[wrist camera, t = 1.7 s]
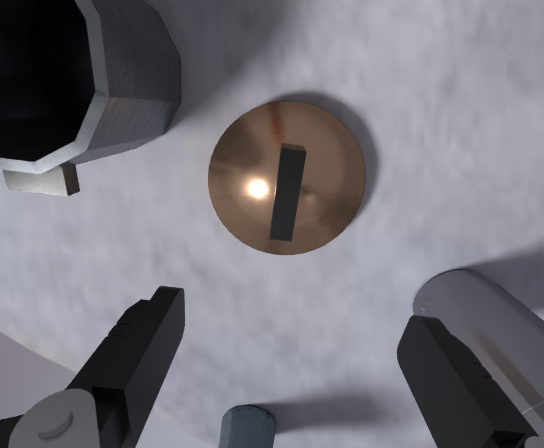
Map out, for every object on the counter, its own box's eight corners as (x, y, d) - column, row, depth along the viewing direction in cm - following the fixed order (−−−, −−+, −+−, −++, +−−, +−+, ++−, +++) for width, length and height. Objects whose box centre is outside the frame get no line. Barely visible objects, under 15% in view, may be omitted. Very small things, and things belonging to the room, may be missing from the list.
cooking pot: (178, -42, 20) (74, -196, 10) (182, 173, 27) (122, 211, 17) (6, -66, 20) (-280, -248, 10) (53, 157, 26) (-87, 186, 16)
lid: (378, 113, 24) (402, 113, 19) (341, 254, 30) (353, 282, 25) (214, 91, 24) (198, 86, 19) (210, 238, 30) (197, 263, 25)
